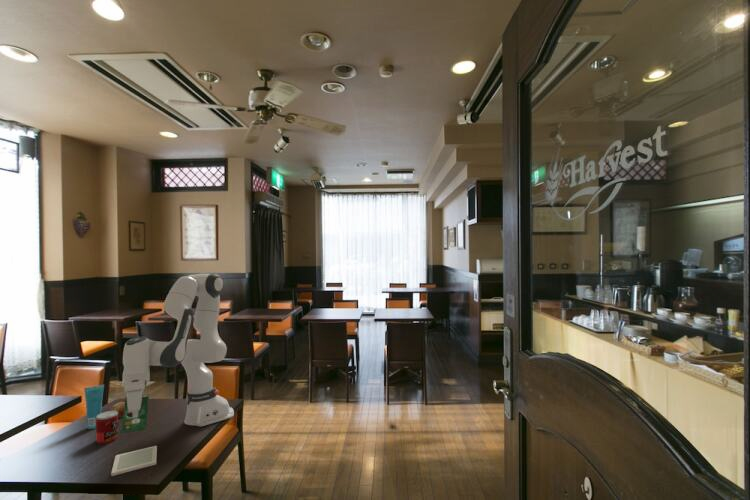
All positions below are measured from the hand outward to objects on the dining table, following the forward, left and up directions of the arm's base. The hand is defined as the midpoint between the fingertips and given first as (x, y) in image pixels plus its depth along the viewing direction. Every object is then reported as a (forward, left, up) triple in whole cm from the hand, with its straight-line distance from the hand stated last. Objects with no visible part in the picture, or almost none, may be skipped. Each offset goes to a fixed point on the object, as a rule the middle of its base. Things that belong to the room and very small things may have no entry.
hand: (135, 415), depth 138 cm
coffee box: (0, 0, -6) cm, 6 cm away
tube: (+19, -45, -18) cm, 52 cm away
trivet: (0, 0, -18) cm, 18 cm away
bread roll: (+9, -55, -18) cm, 58 cm away
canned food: (+12, -27, -18) cm, 35 cm away
